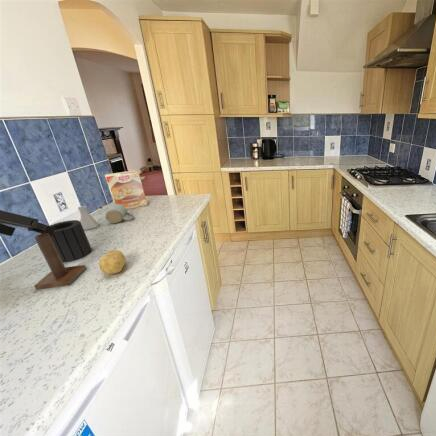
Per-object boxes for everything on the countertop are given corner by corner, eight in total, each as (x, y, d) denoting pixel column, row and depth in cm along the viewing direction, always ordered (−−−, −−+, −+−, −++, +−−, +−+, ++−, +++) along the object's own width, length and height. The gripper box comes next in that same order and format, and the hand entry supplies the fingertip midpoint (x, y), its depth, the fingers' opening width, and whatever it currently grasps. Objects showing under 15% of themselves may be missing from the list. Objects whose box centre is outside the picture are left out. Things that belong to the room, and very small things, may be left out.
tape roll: (49, 262, 87) (34, 232, 82) (74, 247, 96) (62, 220, 91) (75, 262, 86) (62, 232, 81) (98, 248, 95) (87, 220, 90)
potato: (98, 282, 75) (91, 265, 73) (108, 263, 85) (102, 248, 82) (123, 276, 77) (117, 260, 75) (130, 259, 87) (125, 243, 84)
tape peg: (36, 289, 73) (10, 244, 66) (56, 272, 81) (35, 230, 75) (70, 285, 74) (48, 240, 68) (86, 268, 82) (68, 227, 76)
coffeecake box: (117, 211, 131) (105, 176, 124) (115, 208, 136) (103, 174, 128) (148, 204, 141) (138, 171, 133) (144, 202, 145) (135, 169, 138)
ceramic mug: (107, 225, 115) (102, 210, 112) (112, 218, 122) (107, 204, 119) (132, 221, 118) (128, 207, 115) (136, 215, 125) (132, 201, 122)
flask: (98, 222, 118) (91, 203, 114) (99, 227, 113) (92, 207, 109) (80, 226, 114) (71, 207, 110) (80, 231, 109) (71, 211, 105)
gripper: (-120, 218, 57) (-10, 243, 76) (-23, 218, 55) (64, 243, 74) (-100, 189, 59) (2, 221, 79) (-8, 188, 58) (73, 220, 77)
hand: (32, 232), depth 77 cm, fingers open, 13 cm apart
